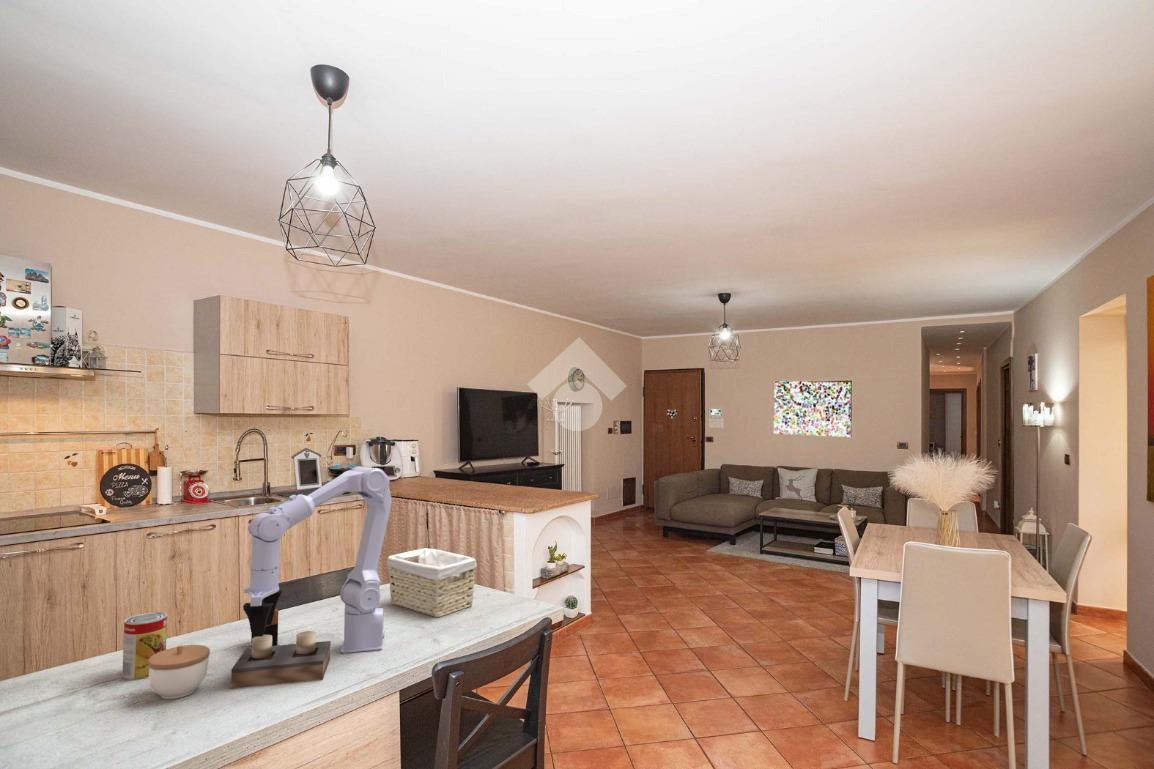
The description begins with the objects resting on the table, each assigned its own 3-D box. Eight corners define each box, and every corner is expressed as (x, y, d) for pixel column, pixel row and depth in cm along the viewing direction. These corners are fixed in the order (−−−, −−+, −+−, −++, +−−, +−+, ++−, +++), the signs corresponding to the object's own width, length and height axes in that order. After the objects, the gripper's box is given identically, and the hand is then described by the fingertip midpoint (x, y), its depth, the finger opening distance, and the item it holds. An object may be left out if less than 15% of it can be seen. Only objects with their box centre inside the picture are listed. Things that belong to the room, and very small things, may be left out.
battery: (259, 651, 149) (260, 609, 149) (250, 643, 154) (251, 603, 154) (278, 646, 152) (279, 605, 152) (269, 639, 157) (270, 599, 157)
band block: (330, 658, 145) (330, 640, 145) (322, 679, 133) (323, 660, 133) (245, 666, 140) (246, 648, 140) (230, 688, 128) (231, 669, 129)
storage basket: (478, 606, 184) (479, 557, 185) (436, 621, 171) (437, 567, 172) (426, 592, 198) (427, 546, 199) (384, 605, 185) (384, 555, 186)
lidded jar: (162, 709, 119) (164, 660, 120) (136, 696, 125) (138, 649, 126) (218, 688, 129) (220, 643, 129) (192, 677, 134) (193, 633, 135)
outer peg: (273, 650, 138) (274, 633, 138) (269, 656, 134) (270, 640, 134) (254, 651, 137) (254, 635, 137) (249, 658, 133) (249, 641, 133)
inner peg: (316, 646, 140) (316, 630, 141) (313, 652, 136) (314, 636, 137) (297, 648, 139) (298, 631, 139) (294, 654, 135) (294, 638, 136)
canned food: (173, 667, 139) (175, 614, 140) (139, 682, 132) (141, 625, 132) (149, 663, 142) (150, 610, 142) (113, 677, 134) (115, 621, 135)
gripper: (253, 561, 143) (250, 621, 142) (235, 576, 129) (232, 643, 128) (286, 560, 145) (283, 619, 144) (272, 575, 131) (269, 640, 130)
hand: (262, 630), depth 136 cm, fingers open, 7 cm apart
